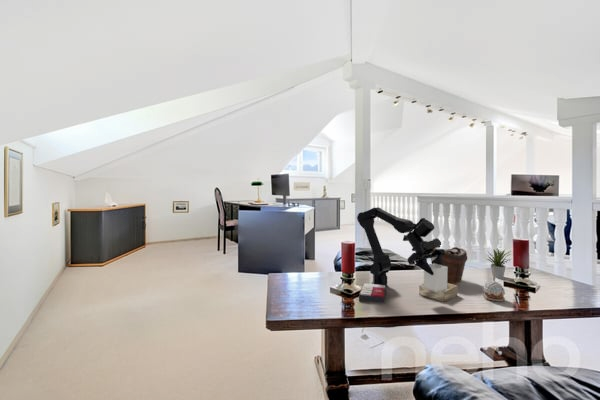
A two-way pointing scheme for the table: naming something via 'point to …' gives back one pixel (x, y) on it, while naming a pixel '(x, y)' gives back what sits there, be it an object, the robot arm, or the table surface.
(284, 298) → the table surface
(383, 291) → the red and white box
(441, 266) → the white upright block
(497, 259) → the house plant
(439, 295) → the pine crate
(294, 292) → the table surface
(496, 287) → the decorative ornament
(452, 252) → the brown flower pot
